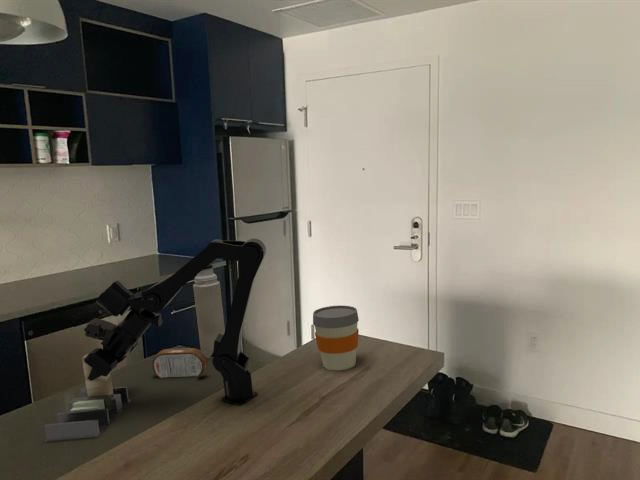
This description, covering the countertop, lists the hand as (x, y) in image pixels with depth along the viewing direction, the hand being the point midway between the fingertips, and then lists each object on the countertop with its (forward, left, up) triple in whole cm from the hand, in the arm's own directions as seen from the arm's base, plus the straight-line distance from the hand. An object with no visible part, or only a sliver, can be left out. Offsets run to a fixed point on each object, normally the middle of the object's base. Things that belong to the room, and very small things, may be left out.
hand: (92, 377), depth 119 cm
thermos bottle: (+2, -40, -9) cm, 41 cm away
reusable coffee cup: (-39, -48, -9) cm, 63 cm away
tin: (-4, -22, -9) cm, 24 cm away
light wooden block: (-1, -1, -6) cm, 6 cm away
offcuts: (-5, +5, -8) cm, 10 cm away
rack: (-5, +4, -9) cm, 11 cm away
